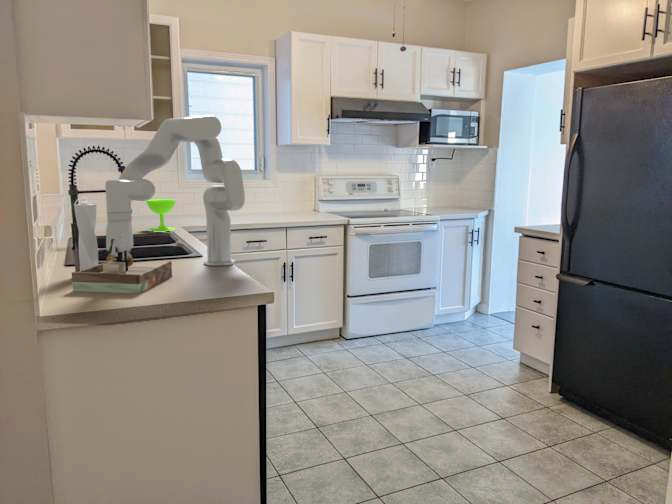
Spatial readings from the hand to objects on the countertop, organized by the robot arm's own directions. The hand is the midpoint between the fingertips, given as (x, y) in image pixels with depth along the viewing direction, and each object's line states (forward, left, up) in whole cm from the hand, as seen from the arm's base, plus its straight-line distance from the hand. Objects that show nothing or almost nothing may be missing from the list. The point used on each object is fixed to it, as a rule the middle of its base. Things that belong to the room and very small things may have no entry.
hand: (122, 271), depth 178 cm
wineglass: (-134, -43, -5) cm, 140 cm away
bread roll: (-32, -18, -5) cm, 37 cm away
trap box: (-2, 0, -4) cm, 5 cm away
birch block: (+5, 0, -1) cm, 5 cm away
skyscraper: (-13, -19, -5) cm, 23 cm away
